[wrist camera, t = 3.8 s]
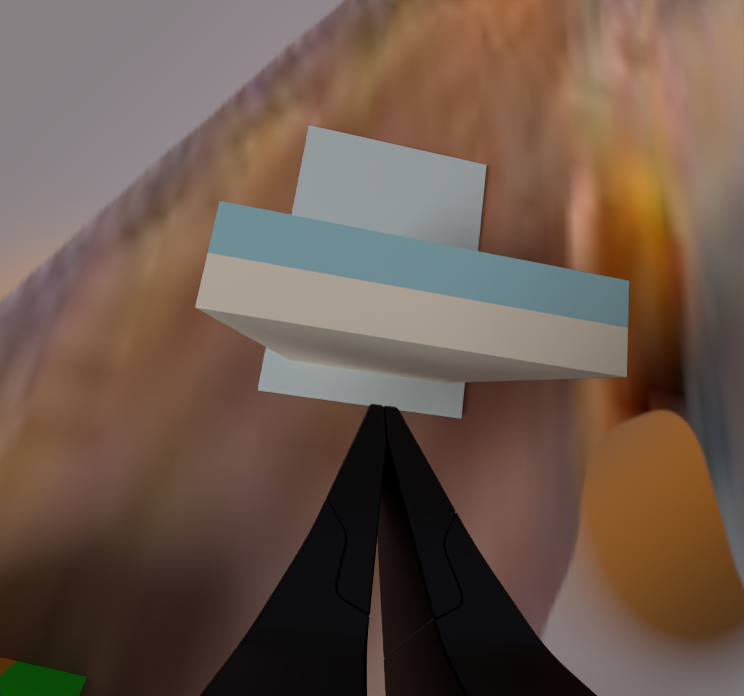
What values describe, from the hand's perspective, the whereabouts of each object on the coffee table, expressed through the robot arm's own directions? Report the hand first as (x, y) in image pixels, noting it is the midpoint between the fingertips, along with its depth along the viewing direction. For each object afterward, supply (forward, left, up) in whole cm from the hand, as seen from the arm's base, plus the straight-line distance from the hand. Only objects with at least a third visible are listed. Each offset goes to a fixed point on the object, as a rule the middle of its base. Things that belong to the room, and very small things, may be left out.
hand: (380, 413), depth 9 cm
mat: (+5, -7, -9) cm, 12 cm away
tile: (+2, -2, -8) cm, 9 cm away
